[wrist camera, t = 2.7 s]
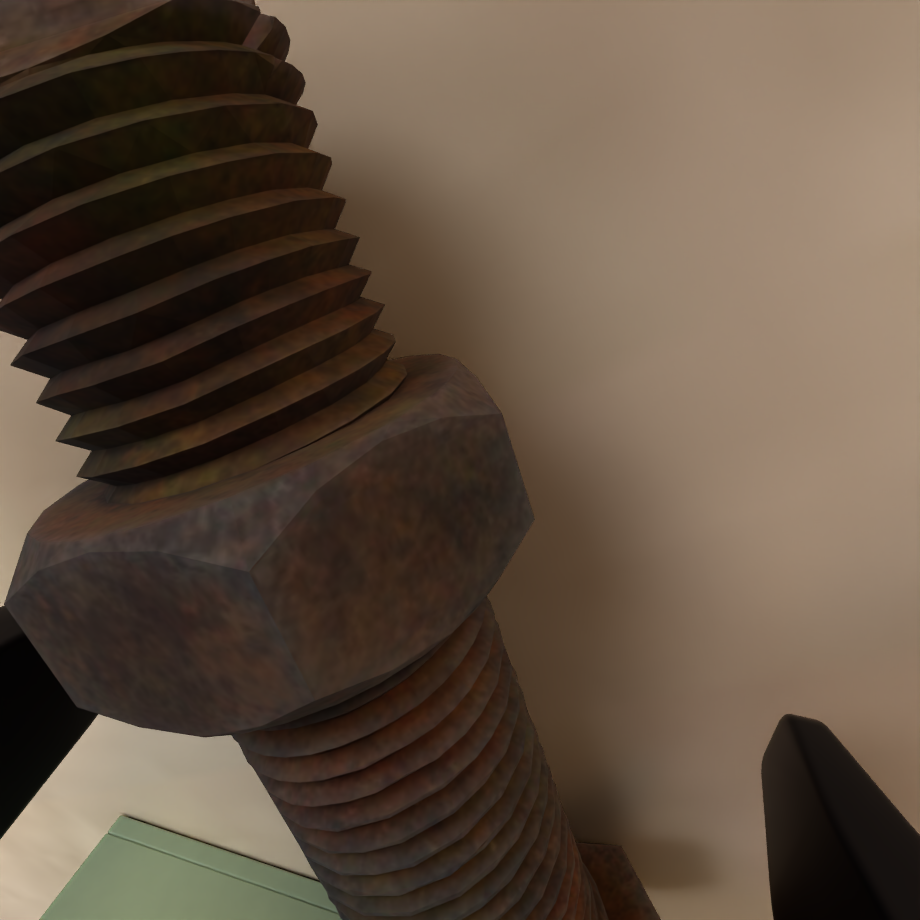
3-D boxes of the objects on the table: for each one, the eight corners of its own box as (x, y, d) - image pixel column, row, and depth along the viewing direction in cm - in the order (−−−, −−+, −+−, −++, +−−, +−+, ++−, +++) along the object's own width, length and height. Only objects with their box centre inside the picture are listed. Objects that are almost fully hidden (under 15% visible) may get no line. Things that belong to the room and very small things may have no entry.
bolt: (353, 67, 8) (603, 831, 13) (-38, 183, 7) (387, 937, 12) (429, -469, 2) (814, 1236, 7) (-1210, -168, 2) (441, 1463, 7)
